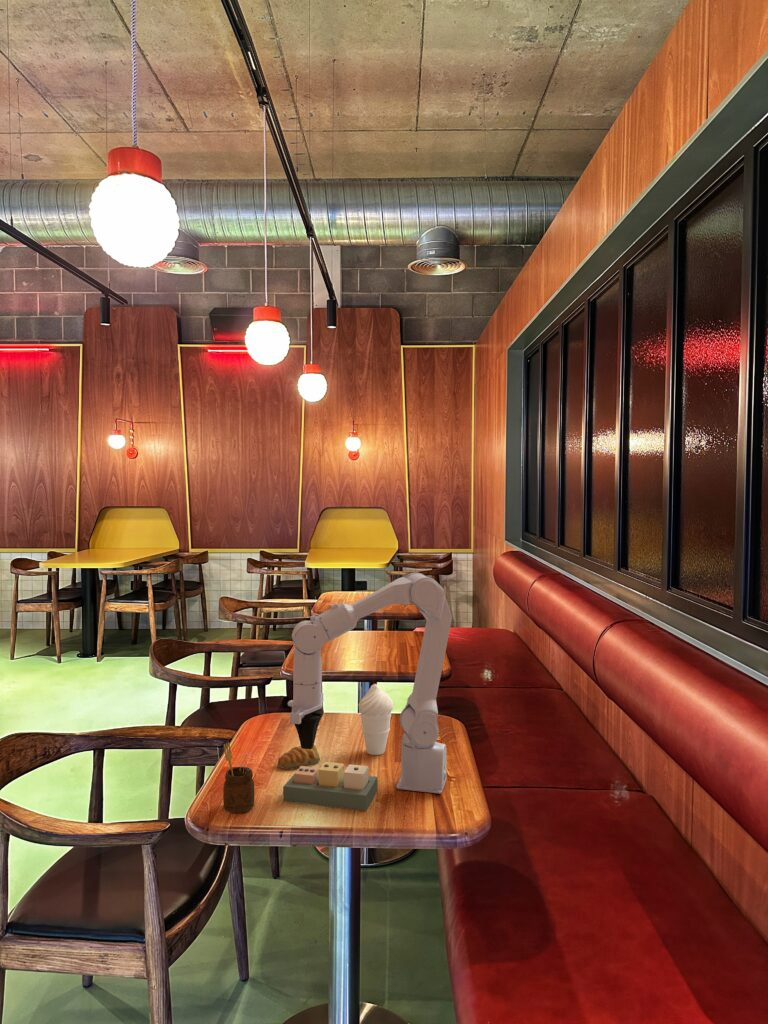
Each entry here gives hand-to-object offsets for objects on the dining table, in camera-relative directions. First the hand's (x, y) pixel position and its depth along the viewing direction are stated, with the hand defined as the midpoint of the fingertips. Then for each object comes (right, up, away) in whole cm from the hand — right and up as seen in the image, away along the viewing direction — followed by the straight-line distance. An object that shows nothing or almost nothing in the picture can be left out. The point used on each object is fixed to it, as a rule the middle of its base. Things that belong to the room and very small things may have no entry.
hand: (307, 747), depth 140 cm
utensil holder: (-13, -10, -6) cm, 17 cm away
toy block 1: (0, -9, 0) cm, 9 cm away
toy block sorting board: (+5, -9, -1) cm, 11 cm away
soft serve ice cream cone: (+14, -9, +23) cm, 28 cm away
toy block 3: (+10, -8, -2) cm, 13 cm away
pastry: (-3, -9, +16) cm, 19 cm away
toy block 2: (+5, -8, -1) cm, 9 cm away
